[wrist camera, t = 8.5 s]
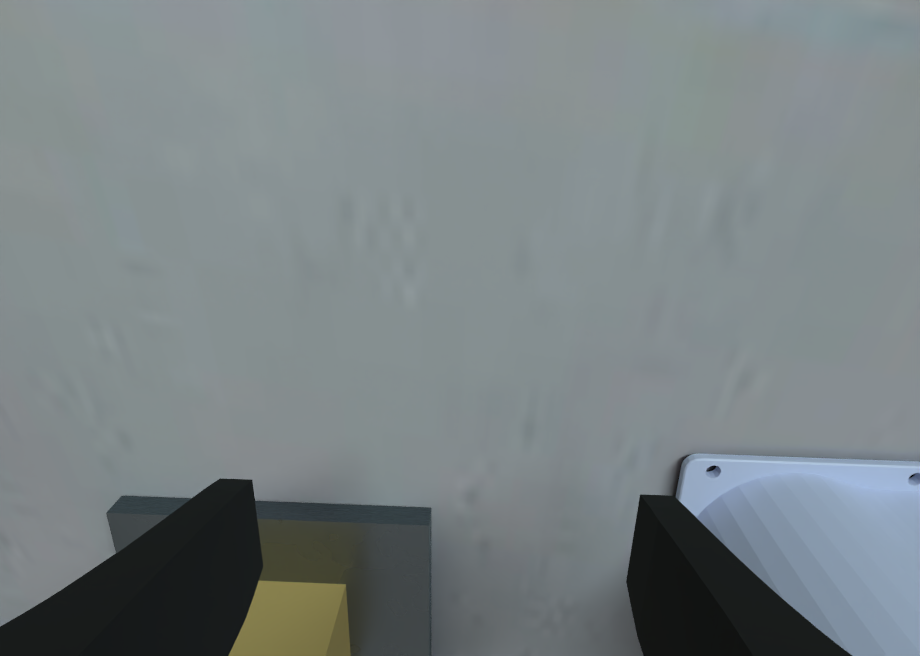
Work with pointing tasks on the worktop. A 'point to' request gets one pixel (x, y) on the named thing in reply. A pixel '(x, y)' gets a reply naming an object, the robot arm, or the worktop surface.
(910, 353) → the worktop surface
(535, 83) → the worktop surface
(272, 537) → the grey square base plate
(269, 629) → the yellow square planter
